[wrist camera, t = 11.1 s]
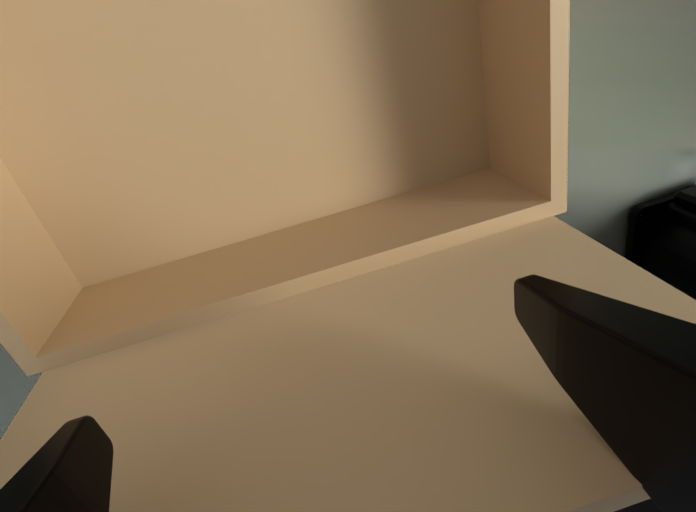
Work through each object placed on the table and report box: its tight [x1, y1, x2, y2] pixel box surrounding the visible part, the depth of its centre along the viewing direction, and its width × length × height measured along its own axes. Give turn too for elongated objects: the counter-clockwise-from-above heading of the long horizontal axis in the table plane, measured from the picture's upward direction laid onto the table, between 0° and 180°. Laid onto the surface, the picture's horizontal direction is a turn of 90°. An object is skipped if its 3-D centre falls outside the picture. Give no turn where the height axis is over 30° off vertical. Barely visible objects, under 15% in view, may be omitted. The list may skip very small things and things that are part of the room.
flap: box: [0, 216, 696, 512], centre depth 11 cm, size 9×18×1 cm
